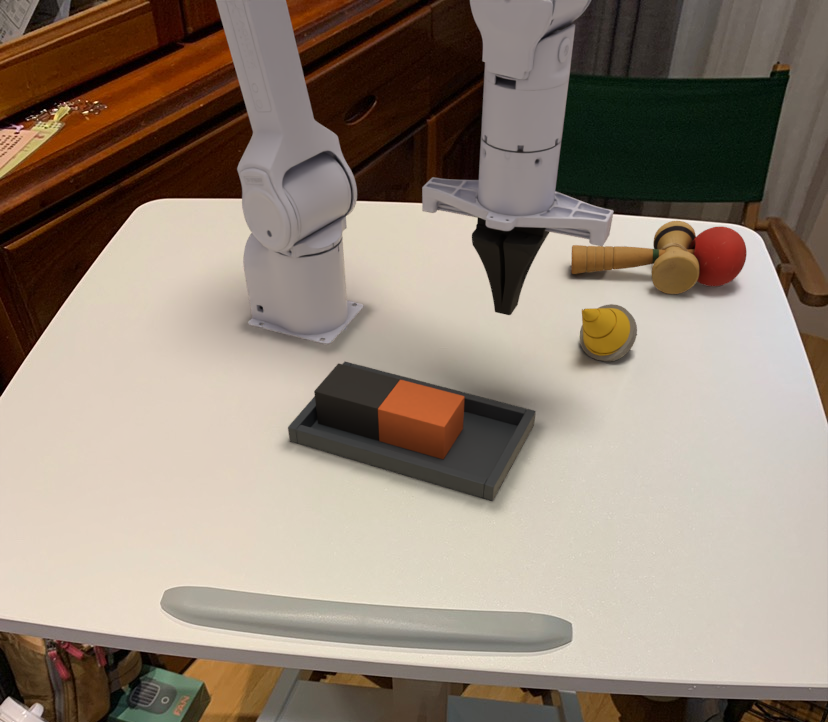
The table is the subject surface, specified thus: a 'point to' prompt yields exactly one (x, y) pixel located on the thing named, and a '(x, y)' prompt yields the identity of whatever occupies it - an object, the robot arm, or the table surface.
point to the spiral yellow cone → (607, 332)
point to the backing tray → (460, 469)
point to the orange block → (421, 418)
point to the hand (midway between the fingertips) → (506, 308)
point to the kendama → (673, 257)
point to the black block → (352, 400)
